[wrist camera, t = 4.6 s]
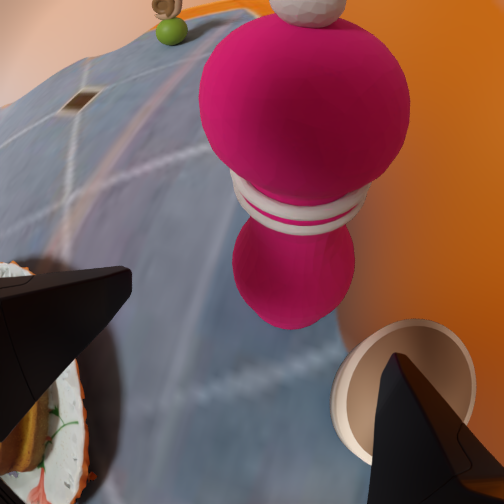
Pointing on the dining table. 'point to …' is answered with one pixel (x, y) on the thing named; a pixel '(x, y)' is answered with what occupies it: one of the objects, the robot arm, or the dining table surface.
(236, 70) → the pepper mill
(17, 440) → the food on plate
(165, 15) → the snail figurine
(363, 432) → the round bowl
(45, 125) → the dining table surface
